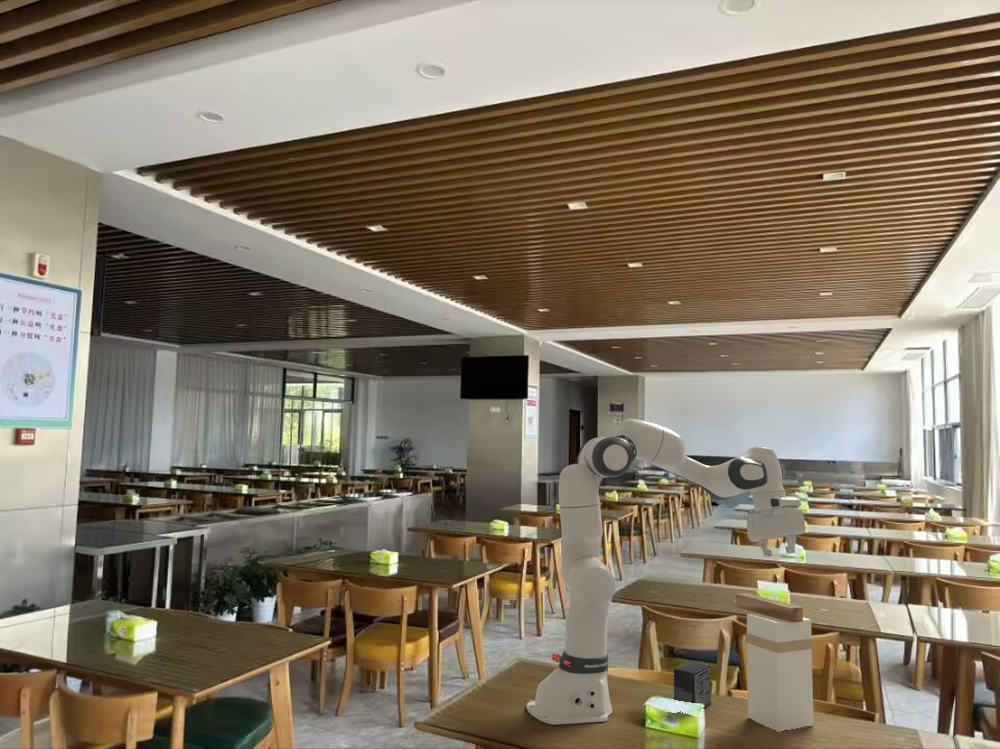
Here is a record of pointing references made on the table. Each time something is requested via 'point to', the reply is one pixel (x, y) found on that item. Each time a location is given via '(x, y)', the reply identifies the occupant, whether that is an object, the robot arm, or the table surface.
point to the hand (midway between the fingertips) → (779, 555)
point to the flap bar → (770, 607)
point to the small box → (692, 683)
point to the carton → (779, 672)
